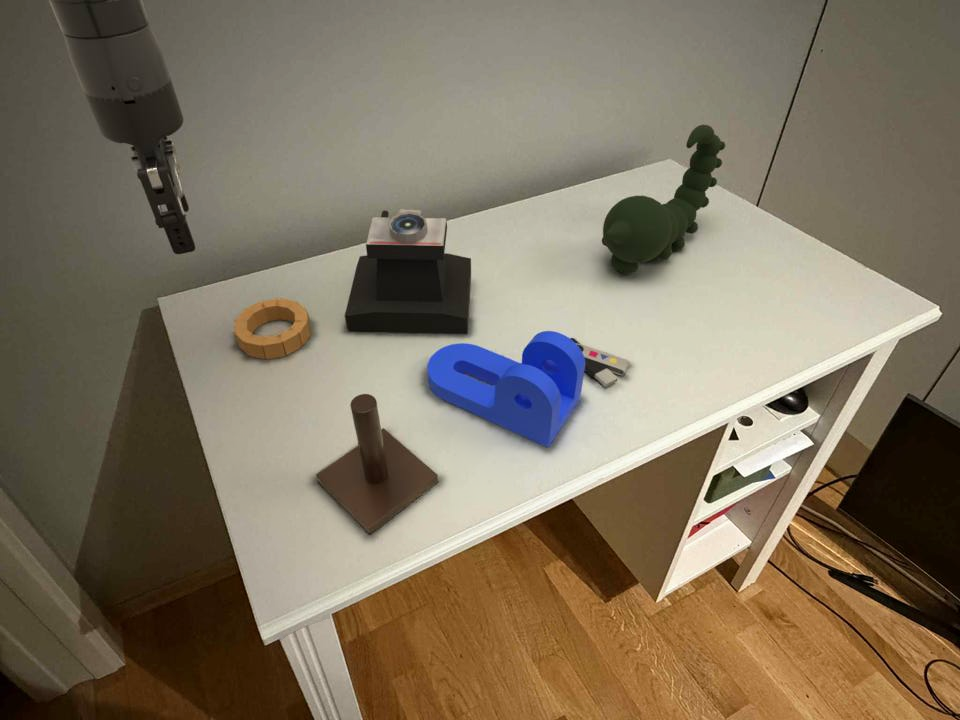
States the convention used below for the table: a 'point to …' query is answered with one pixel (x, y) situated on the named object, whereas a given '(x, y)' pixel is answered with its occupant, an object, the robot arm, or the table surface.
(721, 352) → the table surface
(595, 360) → the usb flash drive
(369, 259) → the camera
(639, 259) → the toy figurine
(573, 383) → the bracket
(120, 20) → the robot arm
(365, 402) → the brown peg stand
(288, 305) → the orange segmented ring
